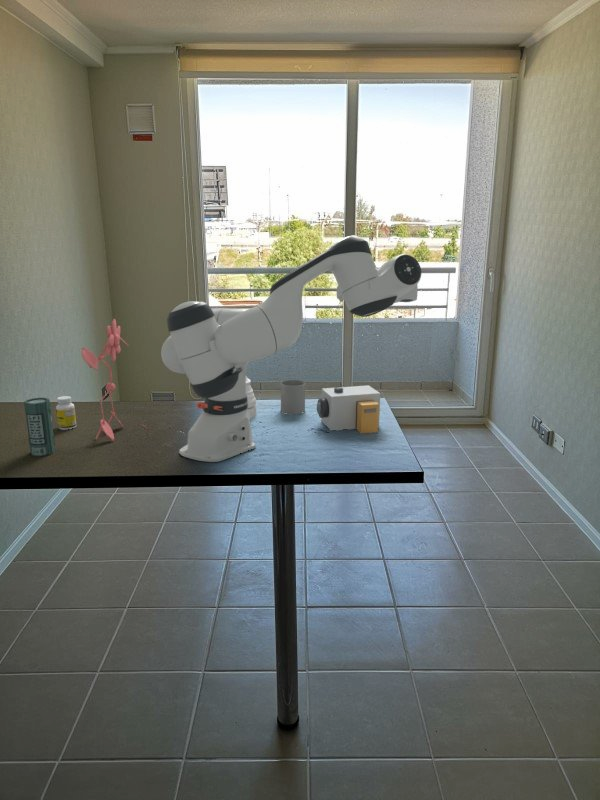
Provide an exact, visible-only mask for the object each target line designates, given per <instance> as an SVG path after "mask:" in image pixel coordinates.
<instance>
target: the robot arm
mask: <svg viewBox="0 0 600 800" xmlns="http://www.w3.org/2000/svg"><path fill="white" fill-rule="evenodd" d="M376 265H377V264H376V263H375V260H374V257H373V254H372V251H371V247H370V245H369V242H368V241H367V240H366V239H364V238H361V237H360V236H357V235H355V234H353V235H349V236H345V237H343V238H341V239H339V240H337V241H336V242H335V243H334V244H333V245H331V246H330V247H329V248H327V249H326V250H325V251H323V252H322V253H319V254H318V255H316V256H315V257H313V258H311V259H310V260H308V261H306V262H305V263H302V264H301V265H300V266H297V267H296V268H294V269H293V270H291V271H290V272H289V273H287V274H285V275H284V276H282V277H281V278H279V279H278V280H276V281H275V283H274V284H273V285H272V286H271V287H270V288H269V289H270V290H269V291H270V292H269V296H268V297H267V298H266V299H265V300H264V301H263V302H262V303H259V304H258V305H256V306H253V307H251V308H248V309H245V308H244V309H239V308H211V306H210V305H209V304H208V303H206V302H205V301H202V300H201V301H196V300H190V301H185V302H181V303H180V304H178V305H177V306H176V307H174V308H173V310H171V311H170V312H169V313H168V315H167V319H166V325H167V331H168V332H169V333H170V335H169V336H168V337H167V338H166V339H165V341H164V342H163V344H162V346H161V351H160V356H161V360H162V362H163V364H164V366H165V367H166V368H167V369H169V371H171V372H173V373H176V374H183V375H185V374H186V376H187V378H188V380H189V382H190V383H191V384H190V387H191V388H192V390H193V392H194V393H195V394H196V395H197V397H199V398H202V399H204V402H203V401H198V402H197V403H196V407H197V409H199V410H200V409H201V410H202V413H201V414H200V415H199V417H198V418H197V420H196V421H195V422H194V424H193V425H192V426H191V428H190V429H189V430H188V433H187V444H186V445H183V447H181V448H180V449H179V451H178V453H179V454H180V456H183V457H184V458H188V459H191V460H194V461H199V462H207V463H218V462H221V461H224V460H225V461H226V460H227V459H229V458H232V457H233V458H234V456H237V455H241V454H243V453H246V452H248V450H249V451H252V450H253V449H256V448H255V447H256V443H255V442H254V441H253V432H252V425H251V419H250V418H249V416H248V414H247V410H246V409H247V407H248V400H247V395H246V376H247V370H248V365H249V363H250V362H255V361H258V360H262V359H265V358H267V357H270V356H272V355H276V354H278V353H280V352H283V351H284V350H286V349H288V348H289V347H291V346H292V345H294V344H296V342H297V341H298V339H299V337H300V335H301V332H302V328H303V323H304V313H303V290H304V287H305V285H306V284H308V283H310V282H311V281H313V280H314V279H316V278H318V277H319V276H321V275H323V274H324V273H326V272H327V271H328V272H331V273H332V275H333V276H334V278H335V281H336V283H337V284H338V285H337V286H336V299H337V300H339V301H344V302H345V305H346V308H347V309H348V311H349V313H350V314H352V315H354V316H358V317H361V318H365V317H366V318H367V317H370V316H375V315H376V314H379V313H381V312H383V311H384V310H387V309H389V308H390V307H391V306H393V305H394V304H396V303H410V302H415V301H417V300H418V287H419V286H418V284H419V282H420V281H421V278H422V268H421V265H420V263H419V262H418V260H417V259H416V257H413V256H412V255H410V254H407V253H403V254H402V253H401V254H399V255H396V256H394V257H392V258H391V259H388V260H387V261H385V263H383V264H382V265H381V266H380V267H378V268H377V266H376ZM251 449H252V450H251ZM240 453H241V454H240Z"/></svg>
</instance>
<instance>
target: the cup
mask: <svg viewBox="0 0 600 800" xmlns="http://www.w3.org/2000/svg"><path fill="white" fill-rule="evenodd" d="M304 411H305V412H306V381H303V380H299V379H286V380H282V381H281V382H280V413H282V412H283V413H287V414H286V415H288V414H297V415H300V414H299V413H302V412H304ZM305 412H304V413H305ZM283 413H282V414H283ZM302 414H303V413H302Z"/></svg>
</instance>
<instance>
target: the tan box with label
mask: <svg viewBox="0 0 600 800" xmlns="http://www.w3.org/2000/svg"><path fill="white" fill-rule="evenodd" d="M378 417H379V418H380V415H379V404H378V403H377V402H375V401H362V402H357V429H356V430H357V432H359V433H360V434H361V433H363V434H370V433H372V432H374V433H378V432H379V427H378ZM372 434H373V433H372Z"/></svg>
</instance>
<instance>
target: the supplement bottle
mask: <svg viewBox="0 0 600 800" xmlns="http://www.w3.org/2000/svg"><path fill="white" fill-rule="evenodd" d="M56 400H57V403H58V404H57V405H56V406H55V410H56V418H57V428H58V429H59V430H62V431H68V429H69V430H73V429H75V428H77V418H76V410H75V408H76V407H75V404H74V403H72V397H71V396H70V395H69V396H68V395H63V396H59V397H57V399H56ZM72 428H73V429H72Z"/></svg>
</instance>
